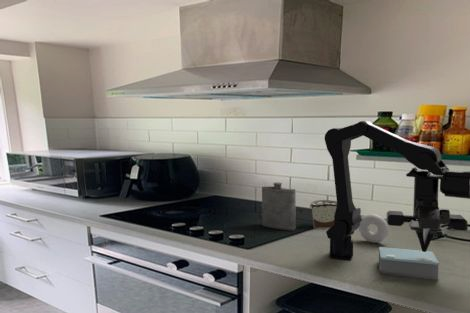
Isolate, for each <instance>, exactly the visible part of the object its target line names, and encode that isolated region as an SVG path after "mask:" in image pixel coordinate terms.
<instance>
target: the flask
mask: <svg viewBox="0 0 470 313" xmlns="http://www.w3.org/2000/svg"><path fill="white" fill-rule="evenodd" d="M272 184H273V186H261V214H262V216H261V218H262V219H261V220H262V223H261V224H262V225H261V226H262V227H266V228H271V229H276V230H283V231H296V230H295V229H296V227H297V226H296V224H297V223H296V221H297V220H296V214H297V213H296V205H297V204H296V188H285V187H282V184H283V183H282V182H278V181H277V182H273V183H272Z"/></svg>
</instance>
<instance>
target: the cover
mask: <svg viewBox="0 0 470 313" xmlns="http://www.w3.org/2000/svg"><path fill="white" fill-rule="evenodd" d="M379 252H380V258H381V259H382V260H392V261H402V262H412V263H423V264H433V265H438V266H439V265H440V262H439V260H438V259H437V257H436V256H435V254H434V252H433V251H429V250H426V252H422V250H421V249H420V250H419V249H409V248H408V249H407V248H396V247H395V248H394V247H387V246H386V247H385V246H384V247H383V246H379V248H378V253H379Z"/></svg>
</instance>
